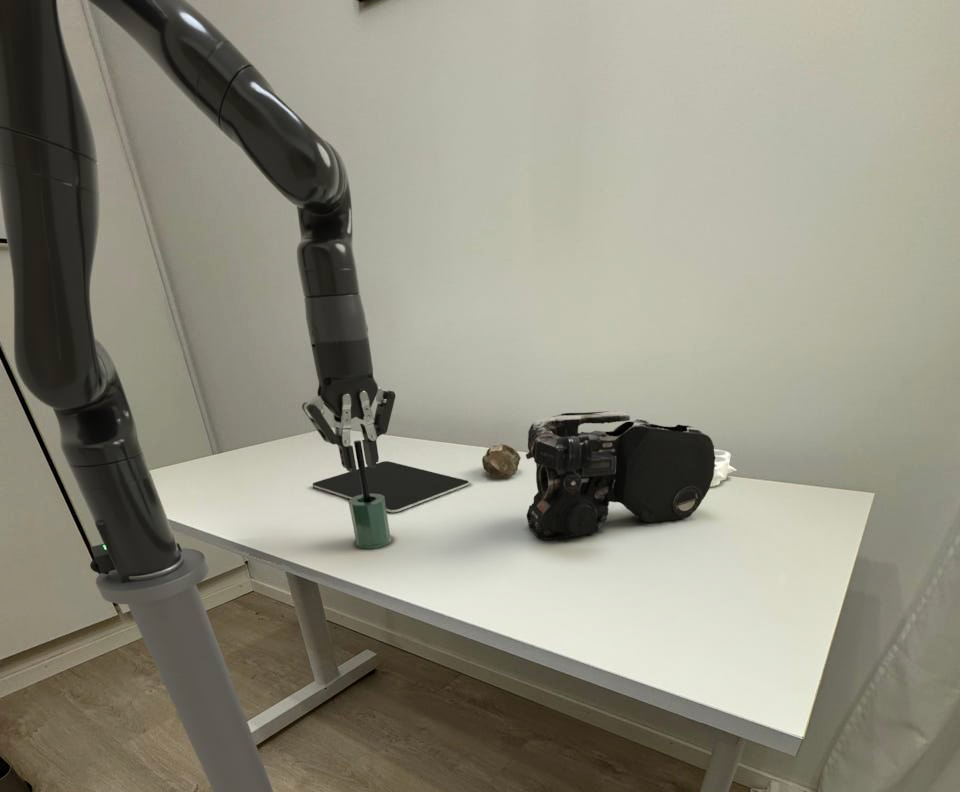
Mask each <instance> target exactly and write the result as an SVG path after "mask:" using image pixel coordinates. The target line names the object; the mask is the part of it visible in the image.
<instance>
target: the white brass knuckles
mask: <svg viewBox="0 0 960 792" xmlns="http://www.w3.org/2000/svg"><path fill="white" fill-rule="evenodd" d="M714 454H715V457H716V459H715V467H714V476H713V479H712V481H711V484H710V488H713V487H715V486H718V485H720V483H721V482H722V481H725V480H726V479H727V476H728V474H730V473H733V472H736V471H737V469H736V468H734V467H733V466H731V465H730V462H731V456H732V454H731V453H730V452H729V451H726V450H724V449H723V450H722V449H714Z"/></svg>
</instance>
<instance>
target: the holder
mask: <svg viewBox="0 0 960 792" xmlns="http://www.w3.org/2000/svg"><path fill="white" fill-rule="evenodd" d="M370 500H371V502H366V503H364V498H363V495H358V496H355V497H353V498H351V499H349V500H348V506H349V511H350V517H351V521H352V522H351V523H352V527H353V528H352V529H353V533H354V536H355V543H356V545H357V547H359V548H360V549H365V550H371V549H372V550H374V549H379V548H382V547H385V546H388V545H389V544H390V543H391V541H392V539H391V532H390V524H389V518H388V511H386V505H385V498H384V496H383V495H381V494H370Z"/></svg>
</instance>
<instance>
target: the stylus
mask: <svg viewBox="0 0 960 792" xmlns="http://www.w3.org/2000/svg"><path fill="white" fill-rule="evenodd" d="M353 445H354V451H355V456H356V462H357V463H356V464H357V469H359V475H360V481H361V486H362V492H363V498H364V503H366V502H371V500H370V494H369V488H368V482H367V475H366V469H365V467H366V465H365V464H366V462H365V456H364V450H363V444H362V440H354V441H353Z"/></svg>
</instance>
